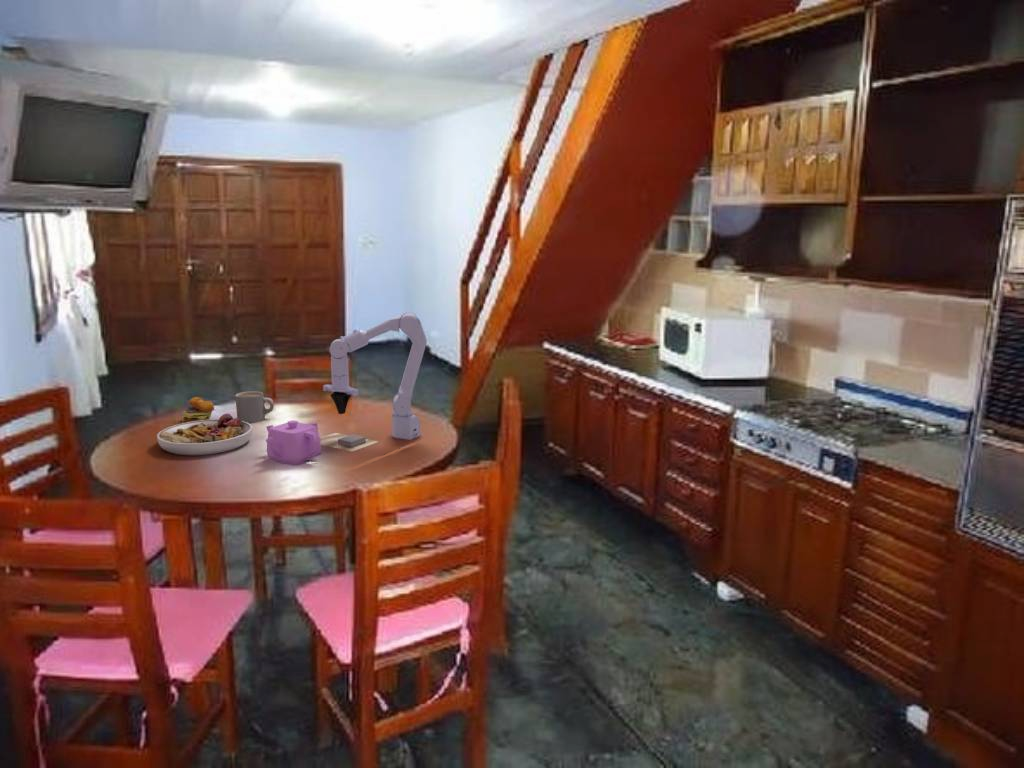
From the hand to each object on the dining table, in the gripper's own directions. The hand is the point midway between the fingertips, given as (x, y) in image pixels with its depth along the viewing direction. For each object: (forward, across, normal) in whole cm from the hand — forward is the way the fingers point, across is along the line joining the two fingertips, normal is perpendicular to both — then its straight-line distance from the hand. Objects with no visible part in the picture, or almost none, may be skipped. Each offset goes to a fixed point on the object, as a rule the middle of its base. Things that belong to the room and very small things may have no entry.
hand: (341, 413), depth 257 cm
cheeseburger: (+10, -64, -10) cm, 66 cm away
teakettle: (+10, 0, -23) cm, 25 cm away
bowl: (+10, -36, -28) cm, 47 cm away
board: (+10, +4, -4) cm, 11 cm away
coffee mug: (+10, -47, +2) cm, 48 cm away
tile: (+8, +5, -4) cm, 10 cm away
